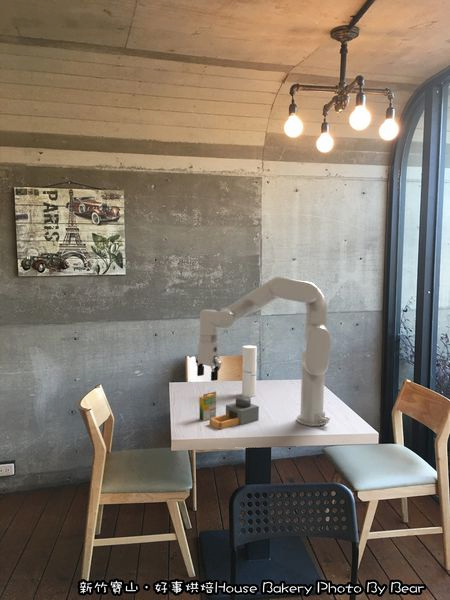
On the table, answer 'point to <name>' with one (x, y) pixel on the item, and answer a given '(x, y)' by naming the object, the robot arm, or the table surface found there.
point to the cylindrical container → (249, 371)
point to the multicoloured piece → (237, 414)
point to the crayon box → (207, 406)
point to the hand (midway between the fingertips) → (207, 377)
